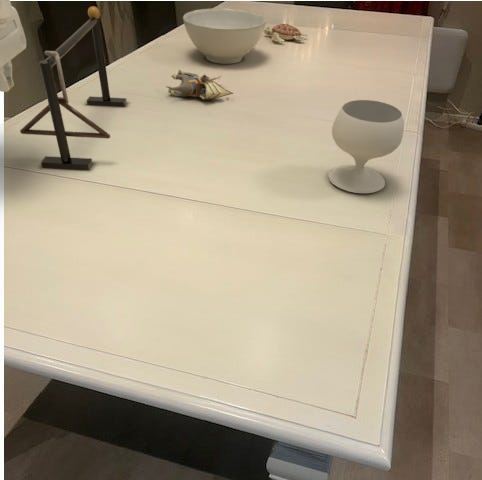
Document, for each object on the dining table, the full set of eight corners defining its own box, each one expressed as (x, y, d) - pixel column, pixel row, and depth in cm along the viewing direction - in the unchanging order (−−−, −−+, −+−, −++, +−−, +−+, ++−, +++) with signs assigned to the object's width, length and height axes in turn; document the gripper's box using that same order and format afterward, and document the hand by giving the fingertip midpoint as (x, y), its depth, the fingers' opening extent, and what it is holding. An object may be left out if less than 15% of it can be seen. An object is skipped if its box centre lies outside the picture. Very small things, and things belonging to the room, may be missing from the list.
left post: (124, 106, 129) (112, 8, 114) (87, 104, 129) (70, 6, 114) (126, 102, 131) (115, 6, 116) (90, 100, 131) (73, 3, 116)
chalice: (319, 190, 100) (331, 118, 90) (328, 161, 110) (340, 94, 100) (387, 202, 98) (407, 129, 88) (390, 171, 108) (409, 103, 98)
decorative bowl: (256, 47, 175) (258, 8, 167) (269, 71, 156) (272, 29, 148) (182, 46, 172) (181, 7, 164) (186, 71, 153) (185, 28, 144)
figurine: (196, 62, 143) (246, 74, 137) (196, 84, 147) (244, 96, 141) (155, 75, 129) (208, 89, 123) (155, 99, 133) (207, 113, 127)
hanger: (110, 139, 102) (97, 54, 90) (20, 134, 102) (-4, 48, 90) (111, 137, 102) (98, 52, 91) (21, 132, 102) (-2, 47, 91)
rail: (88, 170, 103) (69, 65, 89) (42, 167, 103) (14, 62, 89) (125, 104, 130) (114, 17, 116) (88, 102, 130) (73, 14, 116)
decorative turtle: (268, 30, 193) (269, 16, 189) (309, 35, 190) (311, 21, 187) (258, 42, 180) (258, 27, 176) (301, 47, 177) (303, 32, 174)
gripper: (-11, -9, 89) (11, 70, 98) (-67, 17, 74) (-34, 108, 83) (23, -8, 89) (42, 72, 98) (-26, 18, 74) (2, 109, 83)
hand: (7, 89), depth 91 cm, fingers closed
